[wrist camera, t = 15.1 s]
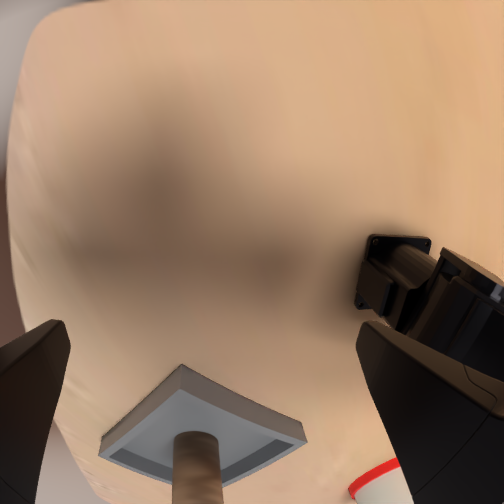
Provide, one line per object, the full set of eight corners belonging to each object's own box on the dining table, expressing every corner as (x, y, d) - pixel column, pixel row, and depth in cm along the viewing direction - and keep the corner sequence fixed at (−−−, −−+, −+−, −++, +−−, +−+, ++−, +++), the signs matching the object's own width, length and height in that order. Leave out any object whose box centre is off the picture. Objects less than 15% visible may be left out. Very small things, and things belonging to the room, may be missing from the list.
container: (403, 448, 39) (435, 509, 25) (428, 455, 44) (455, 503, 31) (333, 490, 42) (353, 549, 28) (370, 493, 47) (389, 539, 34)
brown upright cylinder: (225, 436, 28) (234, 524, 18) (209, 455, 29) (214, 534, 19) (181, 426, 27) (180, 519, 17) (168, 446, 28) (166, 528, 18)
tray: (181, 363, 24) (179, 388, 22) (301, 422, 30) (307, 442, 27) (102, 436, 28) (97, 455, 25) (205, 477, 33) (206, 494, 30)
